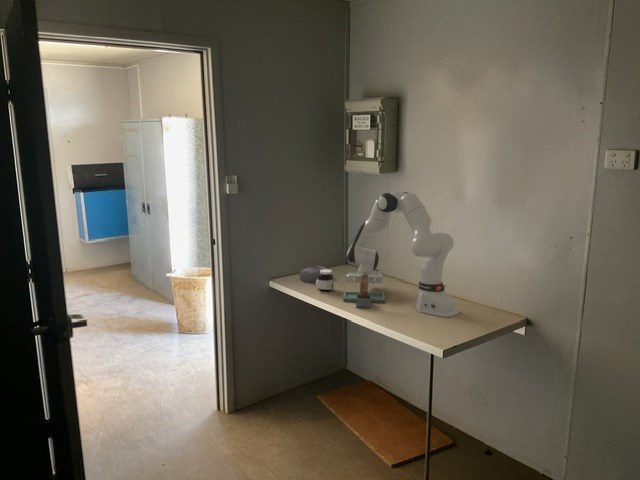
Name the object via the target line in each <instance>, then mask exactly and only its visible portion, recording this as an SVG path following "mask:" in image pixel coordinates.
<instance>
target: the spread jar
mask: <svg viewBox="0 0 640 480" xmlns="http://www.w3.org/2000/svg"><path fill="white" fill-rule="evenodd" d="M328 269H329V268H328ZM328 269H323V270H320V275H319V277H318V279H317V280H316V282H315V285H316V287H317V289H318V290H319V291H320V292H322V293H323V292H324V293H329V292H332V291H333V289H334V288H335V276H334V274H333V271H332V269H329V270H328Z"/></svg>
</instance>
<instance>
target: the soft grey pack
mask: <svg viewBox="0 0 640 480" xmlns="http://www.w3.org/2000/svg"><path fill="white" fill-rule="evenodd" d="M323 269H328V270H330V269H329V268H327V267H326V266H320V265H314V266H313V265H312V266H309V267H307V268H304V269H301V270H300V271H299V278H300V280H301V281H303V282H306V283H316V280H317V279H318V277H319V275H320V270H323Z"/></svg>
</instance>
